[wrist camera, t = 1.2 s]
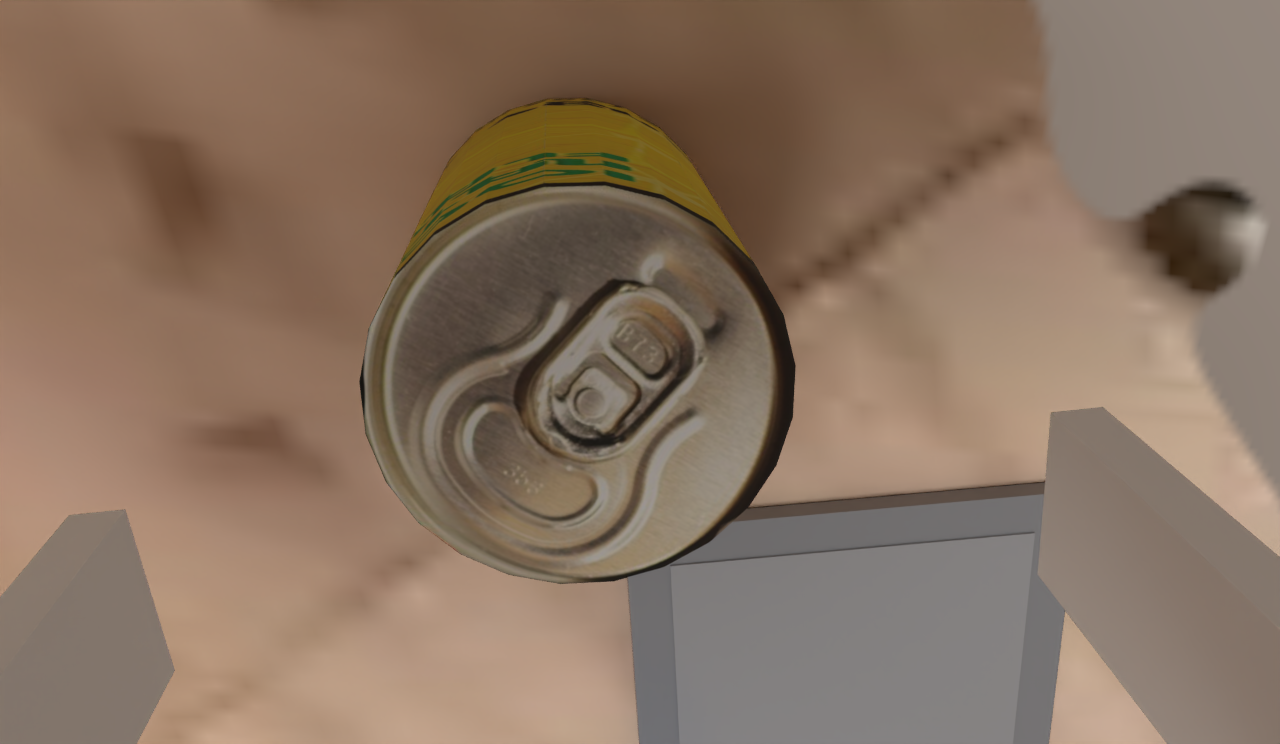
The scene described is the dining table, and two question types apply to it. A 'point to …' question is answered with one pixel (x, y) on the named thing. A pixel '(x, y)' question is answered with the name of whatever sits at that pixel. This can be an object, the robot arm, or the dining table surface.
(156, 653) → the robot arm
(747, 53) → the dining table surface
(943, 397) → the dining table surface
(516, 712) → the dining table surface
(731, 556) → the plate
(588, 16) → the dining table surface
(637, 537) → the beverage can
